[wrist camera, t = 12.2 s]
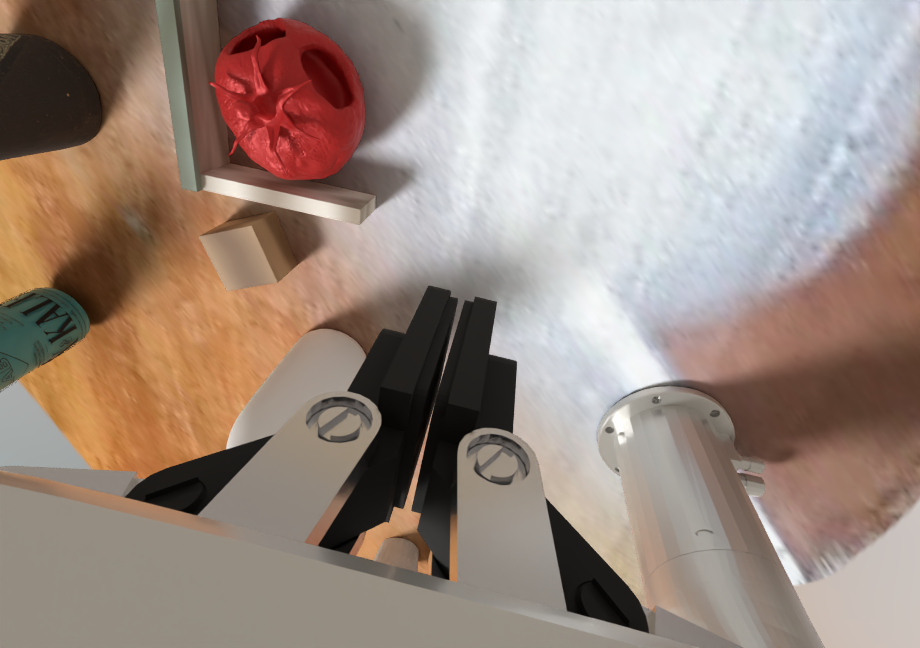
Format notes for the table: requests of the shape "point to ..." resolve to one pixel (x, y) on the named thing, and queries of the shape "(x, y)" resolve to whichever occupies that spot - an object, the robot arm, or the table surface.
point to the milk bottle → (298, 383)
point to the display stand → (205, 131)
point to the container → (43, 98)
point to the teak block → (249, 251)
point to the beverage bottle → (37, 330)
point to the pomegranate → (290, 99)
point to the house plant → (398, 553)
